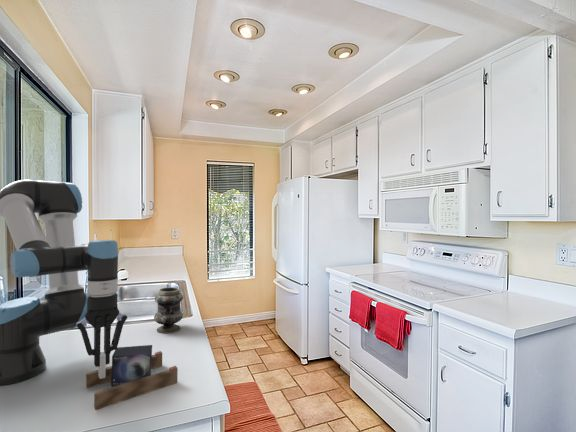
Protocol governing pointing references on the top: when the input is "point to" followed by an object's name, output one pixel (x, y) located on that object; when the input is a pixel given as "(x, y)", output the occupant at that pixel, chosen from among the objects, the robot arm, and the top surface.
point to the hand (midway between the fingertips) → (101, 376)
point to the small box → (131, 364)
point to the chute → (130, 384)
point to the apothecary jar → (168, 309)
